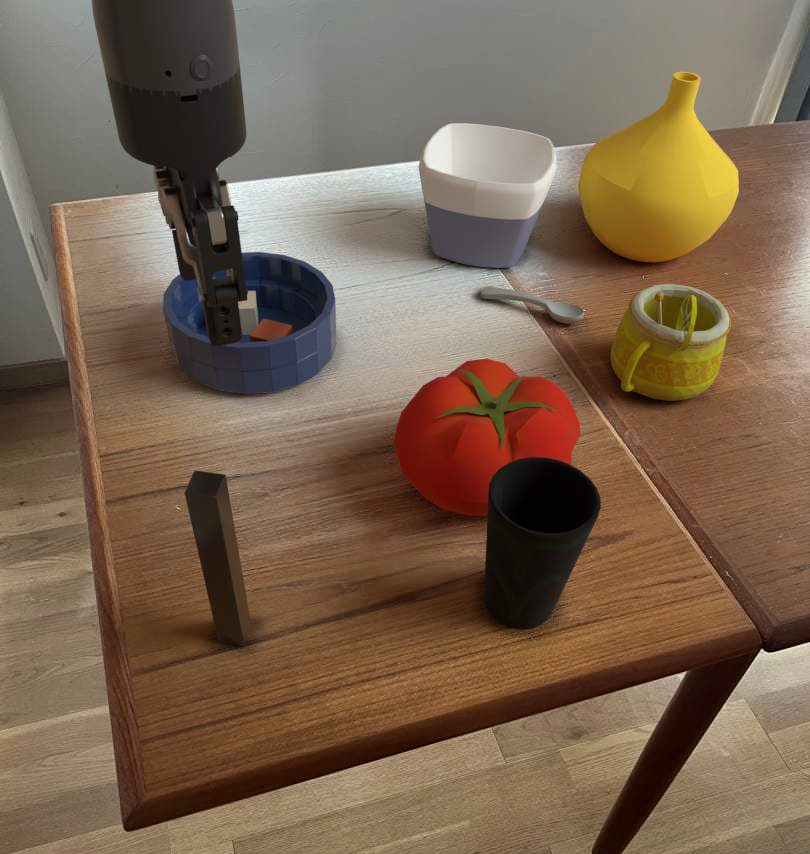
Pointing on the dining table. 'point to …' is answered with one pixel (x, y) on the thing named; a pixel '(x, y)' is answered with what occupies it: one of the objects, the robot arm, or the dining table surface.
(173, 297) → the bowl
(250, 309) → the block
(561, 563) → the cup
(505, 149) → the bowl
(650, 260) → the vase
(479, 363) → the tomato
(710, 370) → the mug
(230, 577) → the stick
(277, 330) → the block
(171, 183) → the robot arm
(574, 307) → the spoon
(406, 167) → the dining table surface
